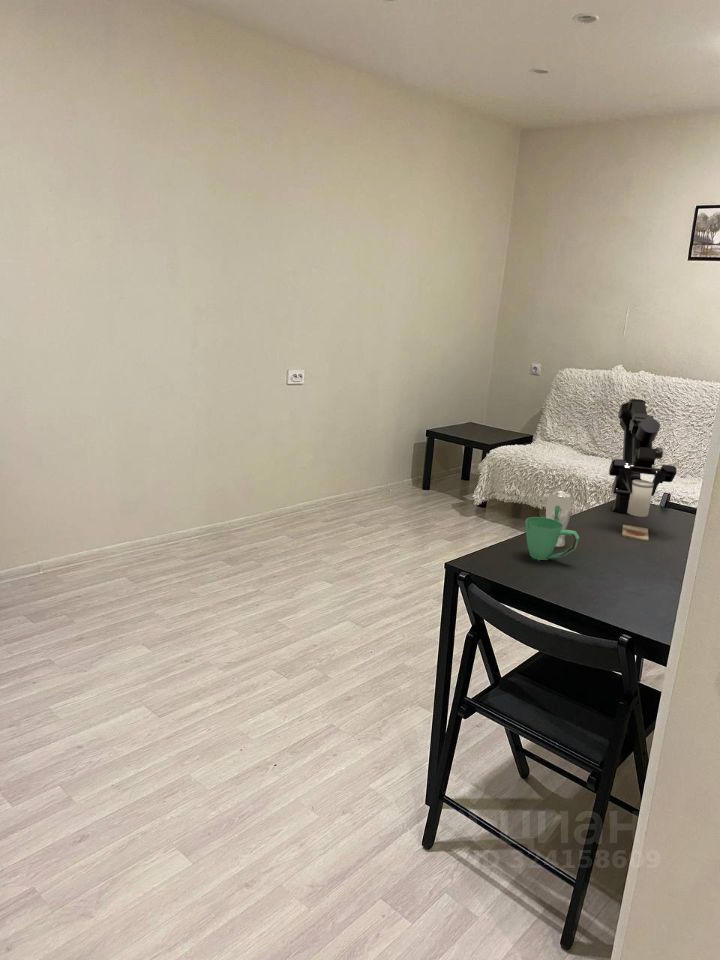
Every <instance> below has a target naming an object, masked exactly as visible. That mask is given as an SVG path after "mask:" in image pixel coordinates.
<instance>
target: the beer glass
mask: <svg viewBox="0 0 720 960" xmlns="http://www.w3.org/2000/svg"><path fill="white" fill-rule="evenodd" d="M573 496H574V495H573V494H572V493H570V492H567V491H563V490H551V491H549V492H548V498H547V501H546V502H547V503H546V507H545V518H549V519H553V520H556V521H559V522H560V523H562V525H563V528H562V530H567V528H568V524H569V521H570V517H571V514H572V511H573V510H572V508H573ZM565 537H566V535H560V536H559V538H558V541H557V544H556V546H555V548H563V547H565V545H566V543H565V542H566V541H565V540H566V538H565Z"/></svg>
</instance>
